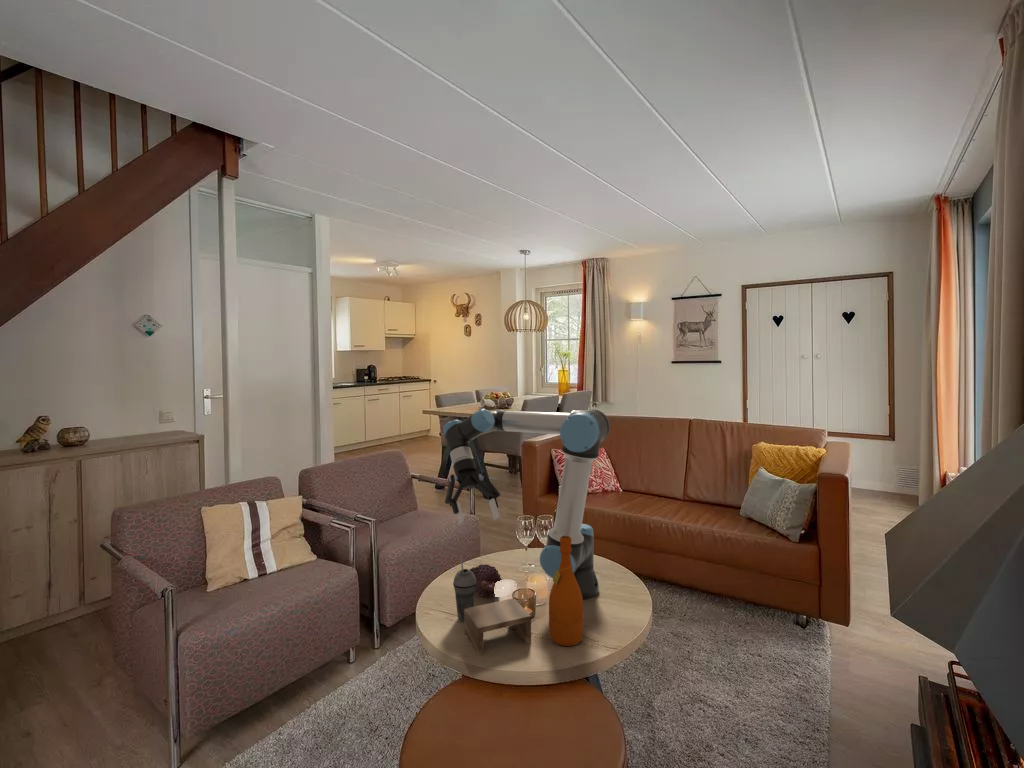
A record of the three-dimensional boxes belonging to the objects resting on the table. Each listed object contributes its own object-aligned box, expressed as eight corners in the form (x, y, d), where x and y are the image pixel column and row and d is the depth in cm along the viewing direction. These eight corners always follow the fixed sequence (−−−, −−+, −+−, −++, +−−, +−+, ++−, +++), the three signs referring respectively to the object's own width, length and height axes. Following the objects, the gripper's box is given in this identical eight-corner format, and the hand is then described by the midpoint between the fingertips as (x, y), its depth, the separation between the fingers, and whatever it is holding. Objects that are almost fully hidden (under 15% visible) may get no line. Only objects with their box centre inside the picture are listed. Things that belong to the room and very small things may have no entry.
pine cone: (459, 588, 180) (459, 561, 180) (483, 581, 186) (482, 554, 186) (487, 608, 166) (487, 577, 166) (512, 599, 172) (511, 570, 172)
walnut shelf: (514, 622, 157) (513, 598, 157) (531, 641, 146) (530, 615, 146) (464, 633, 151) (464, 608, 150) (478, 655, 140) (478, 628, 139)
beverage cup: (473, 626, 155) (472, 561, 154) (450, 624, 156) (449, 559, 155) (479, 614, 162) (479, 552, 161) (457, 612, 164) (456, 550, 163)
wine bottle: (554, 627, 154) (554, 529, 152) (586, 633, 150) (586, 532, 149) (544, 644, 145) (543, 540, 143) (578, 651, 141) (578, 544, 140)
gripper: (488, 465, 188) (505, 520, 177) (426, 469, 173) (440, 529, 163) (498, 455, 183) (516, 511, 172) (435, 458, 168) (450, 520, 158)
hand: (479, 520), depth 168 cm, fingers open, 13 cm apart
